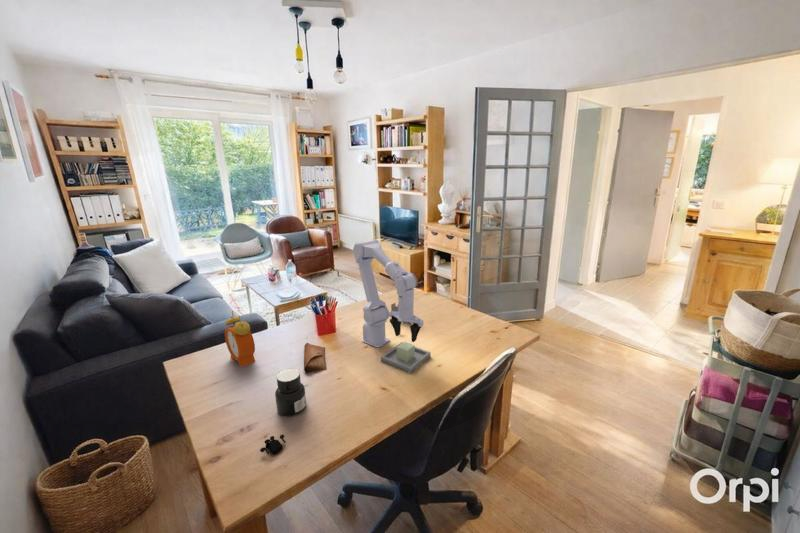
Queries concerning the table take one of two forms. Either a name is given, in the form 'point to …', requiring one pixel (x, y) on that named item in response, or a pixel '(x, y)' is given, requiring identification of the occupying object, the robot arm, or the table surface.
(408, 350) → the cube
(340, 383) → the table surface
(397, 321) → the robot arm
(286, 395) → the ink bottle
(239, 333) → the alarm clock
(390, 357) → the tray
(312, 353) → the sunglasses case
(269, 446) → the black knobbed ornament
